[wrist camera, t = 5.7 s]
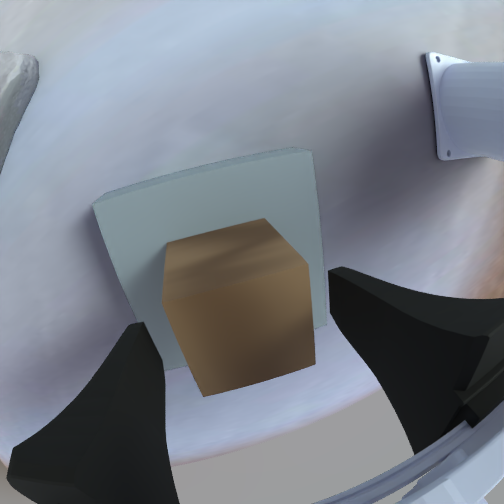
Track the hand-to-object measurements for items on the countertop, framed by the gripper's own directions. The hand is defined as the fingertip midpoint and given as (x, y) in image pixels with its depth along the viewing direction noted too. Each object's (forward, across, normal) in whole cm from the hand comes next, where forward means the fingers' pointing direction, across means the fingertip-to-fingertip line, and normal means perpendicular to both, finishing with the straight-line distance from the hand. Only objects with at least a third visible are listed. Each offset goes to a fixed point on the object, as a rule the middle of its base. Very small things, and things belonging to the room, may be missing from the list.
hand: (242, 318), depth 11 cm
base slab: (+7, 0, 0) cm, 7 cm away
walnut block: (+4, 0, 0) cm, 4 cm away
